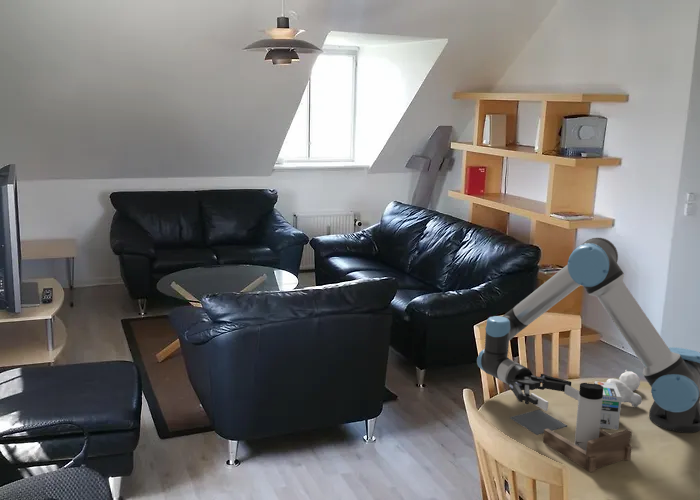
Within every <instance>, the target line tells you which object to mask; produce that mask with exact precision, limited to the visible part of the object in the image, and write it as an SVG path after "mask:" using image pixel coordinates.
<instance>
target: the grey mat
mask: <svg viewBox="0 0 700 500" xmlns="http://www.w3.org/2000/svg"><path fill="white" fill-rule="evenodd" d="M509 419H510V420H512V421H513V422H515V423H517V424H519V425H520V426H521V427H523V428H525V429H526V430H528V431H530V432H531V433H533V434H535V435H536V436H539V435H544V429H550V430H551V431H553V432H555V431H557V430H560V429H565V428H567V427H568V425H567V424H566V423H564V422H563V421H560V420H558V418H555V417H553V416H552V415H550V414H548V413H547V412H546V411H544V410H542V409H541V408H540V409H536V410H531V411H527V412H524V413H521V414H516V415H514V416H509Z"/></svg>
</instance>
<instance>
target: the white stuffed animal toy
mask: <svg viewBox="0 0 700 500" xmlns="http://www.w3.org/2000/svg"><path fill="white" fill-rule="evenodd" d="M605 382H606V383H616V384H617V387H618V390H619V392H620V394H621V396H622V401H621V403H630V404H631V407H632V408H633V409H634V408H637V407H638V406H639V405H641V404H642V401H643V399H642V396H641V395H640V394H638V393H636V392H634V391H631V390H630V388H628V387H627V385H625V384H624V383H623V382H622V381H620V380H619V378H608V379H606V381H605Z"/></svg>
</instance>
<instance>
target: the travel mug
mask: <svg viewBox="0 0 700 500" xmlns="http://www.w3.org/2000/svg"><path fill="white" fill-rule="evenodd" d="M602 400H603V386H601V385H599V384H595V383H588V382H582V383H580V384H579V399H578V400H577V411H576V412H577V413H576V422H575V425H576V426H575V435H574V444H575V445H577V446H578V447H580V448H582V449H583V450H585V451H586V450H587V441H590V440H593V439H596V438H599V431H600V429H601V428H600V421H601V411H602Z"/></svg>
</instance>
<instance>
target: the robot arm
mask: <svg viewBox="0 0 700 500" xmlns="http://www.w3.org/2000/svg"><path fill="white" fill-rule="evenodd" d="M618 253H619V252H618V250H617V248H616V246H615V244H614V243H612V242H611V241H610V240H609V239H606V238H604V237H591V238H589V239H587V240H586V241H585V242H583V243H582V244H580V245H578V246H577V247H576V248H574V250H573V251H572V252H571V254H570V255H569V257H568V259H567V264H566V265H565V266H564V267H562V268H561V269H559V271H558V272H556V273H555V274H553V276H551V277H550V278H549V279H547V280H546V281H545V282H544V283H542V284H541V285H540V286H539V287H537V288H536V289H535V290H534V291H533V292H532V293H530V294H529V295H527V296H526V297H525V298H524V299H522V300H521V301H519V303H517V304H516V305H514V307H513V308H511V309H510V310H509V311H507V312H506V313H505V314H503V315H502V316H501V315H493V316H489V317H488V318H487V320H486V325H485V336H484V337H485V338H484V339H485V340H484V341H485V342H484V348H483V349H482V350H481V351H480V352H479V353H478V356H477V358H476V364H477V367H478V368H479V369H480V370H482V371H483V372H484V373H486V374H487V375H490V376H492V377H494V378H496V379H497V380H498V381H501V382H502V383H505V384H506V385H507V386H509V387H508V388H509V390H511V392H513V394H514V396H515V398H516V399H517V401H518V402H519V403H523V402H524V405H529V404H532V405H534V406H536V407H538V408H540V410H542V411H544V412H547V411H548V410H549V401H548V400H546V399H544V398H543V397H541V396H539V395H537V394H536V393H533V392H531V393H530V391H533V390H534V391H535V390H542V391H543V390H551V391H557V392H564V393H563V394H565V395H567V396H569V397H570V398H572V399H575V400H577V401H578V399H579V391H580V389H576V388H575V387H572V381H570V380H565V379H562V378H559V377H555V376H550V375H548V374H545V373H540V376H537V375H534V374H533V372H532V371H531V369H530V368H528V367H526V366H524V365H523V364H521V363H518V362H516V361H514V360H512V359H511V358H509V357H508V356H509V346H510V345H509V344H510V341H511V340H512V339H513V338H514V337H516V336H517V335H518V334H519V333H520V332H522V330H524V329H526V327H528V326H529V325H530V324H532V323H533V322H534V321H536V320H537V319H538V318H540V317H541V316H542V315H544V314H545V313H546V312H548V311H549V310H551V308H552V307H554V306H556V304H558V303H559V302H561V300H563V299H565V298H566V297H567V296H569V295H570V294H571V293H572V292H573V291H575V290H576V289H578V287H580V286H582V287H583V288H584V290H585V291H586V292H587V294H588V296H592V297H596V298H597V299H598V301H599V303H600V304H601V305H602V307H603V309H604V310H605V311H606V313H607V314H608V316H609V318H610V319H611V320H612V322H613V323H614V325H615V326H616V327H617V329H618V331H619V332H620V333H621V335H622V336H623V338H624V339H625V341H626V342H627V343H628V345H629V347H630V349H631V350H632V351H633V353H634V354H635V355H636V357H637V359H638V360H639V362H640V363H641V364H642V366H643V370H642V376H643V377H644V378H645V380H646V382H647V383H648V385H649V386H650V388H651V390H650V392H651V397H652V399H653V402H652V405H651V406H650V409H649V414H648V418H649V420H650V421H651V422H652V423H653V424H655V425H657V426H659V427H660V428H663V429H665V430H669V431H672V432H676V433H678V432H679V433H688V434H689V433H697V432H700V352H699V351H697V350H693V349H691V348H690V349H689V348H683V347H674V346H672V347H669V346H668V345H667V344H666V343H665V340H664V339H663V337H662V336H661V335H660V334H659V332H658V331H657V329H656V327H655V326H654V325H653V323H652V322H651V320H650V319H649V317H648V316H647V314H646V313H645V312H644V310H643V309H642V308H641V306H640V304H639V303H638V301H637V300H636V298H635V296H633V294H632V293H631V292H630V290H629V288H628V287H627V286H626V284H625V283H624V277H625V276H624V275H625V273H624V271H623V270H622V268H621V267H620V266H619V264H618V260H619V254H618Z"/></svg>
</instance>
